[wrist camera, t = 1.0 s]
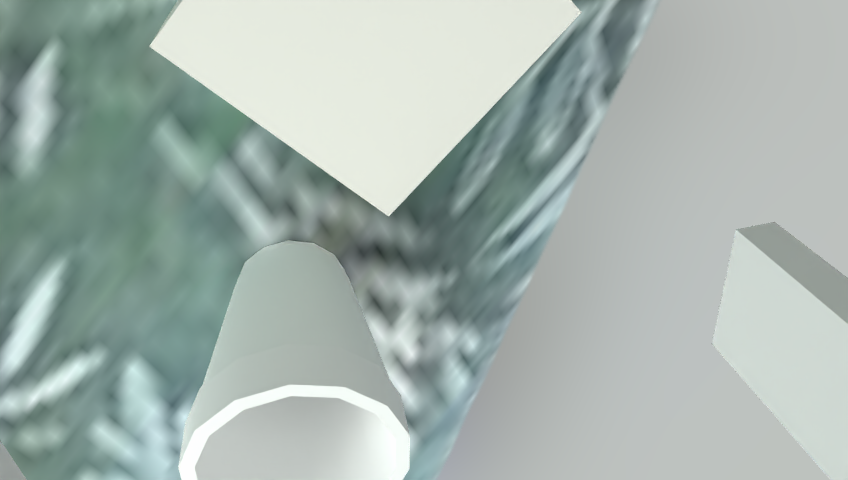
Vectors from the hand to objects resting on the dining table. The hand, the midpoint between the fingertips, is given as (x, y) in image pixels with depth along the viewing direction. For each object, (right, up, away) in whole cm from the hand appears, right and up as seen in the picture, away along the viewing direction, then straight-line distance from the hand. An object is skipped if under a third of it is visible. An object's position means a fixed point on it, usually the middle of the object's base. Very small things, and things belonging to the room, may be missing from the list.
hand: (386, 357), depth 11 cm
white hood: (-3, +14, +18) cm, 23 cm away
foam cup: (-7, -1, +26) cm, 27 cm away
